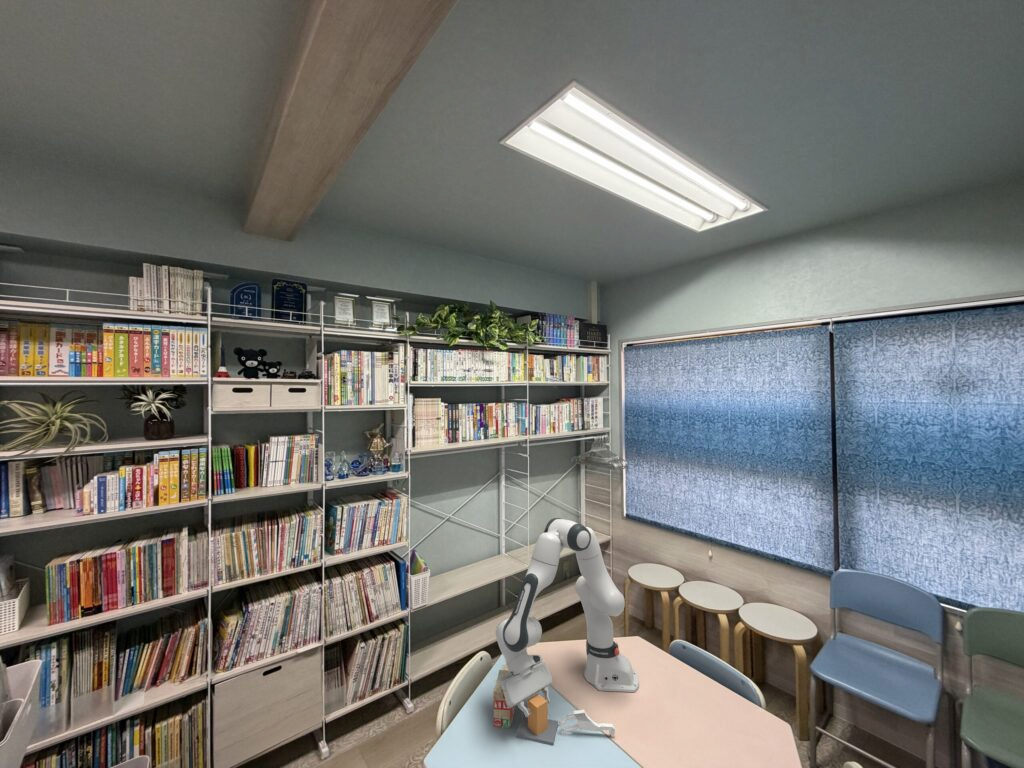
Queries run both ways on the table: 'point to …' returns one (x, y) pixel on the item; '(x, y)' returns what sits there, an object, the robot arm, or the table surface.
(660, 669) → the table surface
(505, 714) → the stack of blocks
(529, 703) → the orange block
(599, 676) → the robot arm
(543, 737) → the slate mat
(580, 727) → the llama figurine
